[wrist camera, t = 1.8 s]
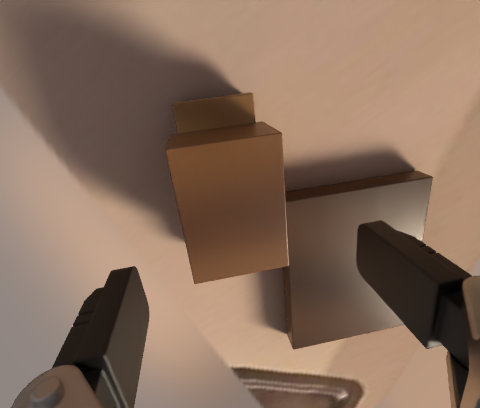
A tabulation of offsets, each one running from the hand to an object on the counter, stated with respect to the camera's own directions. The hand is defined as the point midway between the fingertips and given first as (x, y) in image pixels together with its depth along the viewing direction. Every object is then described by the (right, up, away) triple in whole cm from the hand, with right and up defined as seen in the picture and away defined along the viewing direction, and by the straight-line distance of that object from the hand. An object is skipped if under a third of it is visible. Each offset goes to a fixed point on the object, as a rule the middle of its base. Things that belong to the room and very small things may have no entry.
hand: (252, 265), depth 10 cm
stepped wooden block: (-2, +4, +8) cm, 9 cm away
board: (+8, -2, +12) cm, 14 cm away
